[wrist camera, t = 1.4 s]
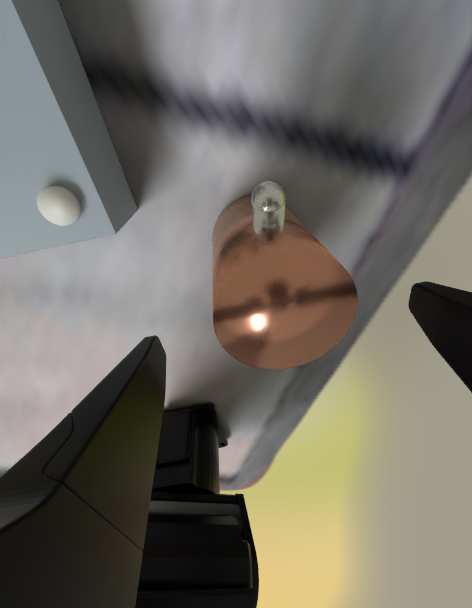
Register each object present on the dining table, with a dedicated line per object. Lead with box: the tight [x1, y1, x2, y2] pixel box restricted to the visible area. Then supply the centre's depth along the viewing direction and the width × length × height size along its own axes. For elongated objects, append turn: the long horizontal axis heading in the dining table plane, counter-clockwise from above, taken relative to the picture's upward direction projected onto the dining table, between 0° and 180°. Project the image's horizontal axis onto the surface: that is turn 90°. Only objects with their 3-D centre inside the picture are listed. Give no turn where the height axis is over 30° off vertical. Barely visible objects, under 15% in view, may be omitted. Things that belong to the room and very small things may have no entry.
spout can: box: [213, 181, 357, 369], centre depth 12 cm, size 7×5×8 cm
